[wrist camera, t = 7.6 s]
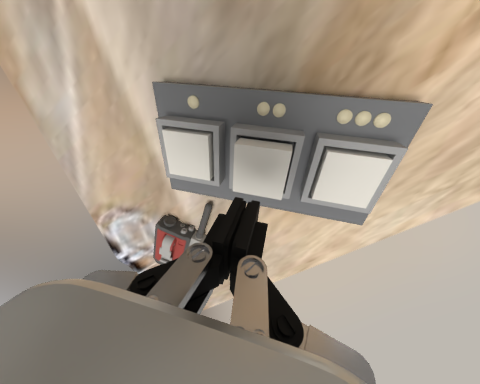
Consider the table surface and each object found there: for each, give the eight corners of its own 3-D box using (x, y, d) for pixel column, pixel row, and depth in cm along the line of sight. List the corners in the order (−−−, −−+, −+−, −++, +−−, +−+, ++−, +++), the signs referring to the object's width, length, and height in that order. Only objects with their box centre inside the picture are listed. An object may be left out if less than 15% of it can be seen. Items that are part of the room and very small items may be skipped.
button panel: (163, 81, 20) (138, 82, 17) (418, 101, 16) (451, 107, 12) (179, 182, 27) (163, 196, 24) (357, 214, 23) (367, 237, 19)
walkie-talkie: (196, 267, 39) (219, 202, 28) (186, 286, 36) (208, 220, 24) (159, 251, 39) (167, 179, 28) (146, 268, 36) (149, 194, 24)
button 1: (172, 125, 20) (161, 129, 18) (215, 130, 19) (208, 135, 17) (178, 166, 22) (169, 173, 21) (216, 173, 22) (209, 180, 20)
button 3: (324, 144, 17) (327, 151, 15) (382, 151, 16) (393, 160, 14) (310, 189, 20) (311, 199, 18) (359, 197, 19) (365, 208, 17)
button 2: (240, 137, 17) (234, 143, 16) (292, 144, 16) (292, 151, 15) (237, 182, 20) (232, 191, 18) (282, 189, 19) (281, 200, 18)
